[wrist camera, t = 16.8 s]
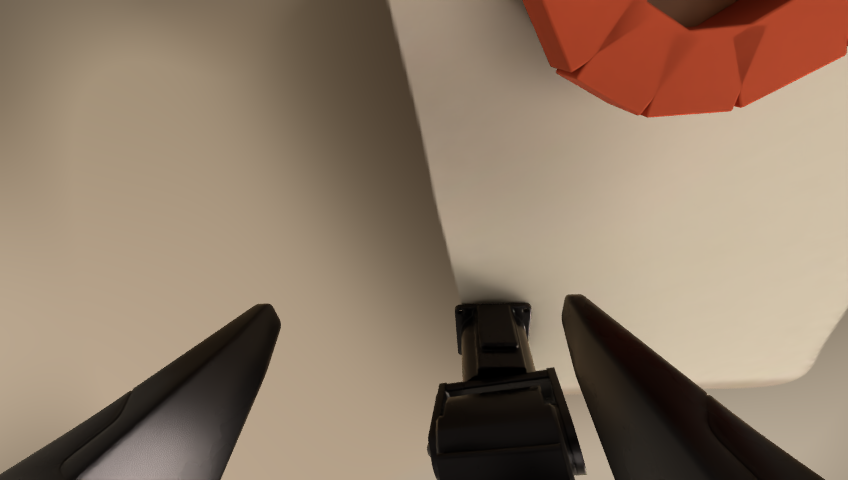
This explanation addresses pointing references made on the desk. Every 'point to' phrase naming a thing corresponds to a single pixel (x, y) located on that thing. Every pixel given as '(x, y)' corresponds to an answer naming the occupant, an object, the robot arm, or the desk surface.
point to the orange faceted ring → (687, 50)
